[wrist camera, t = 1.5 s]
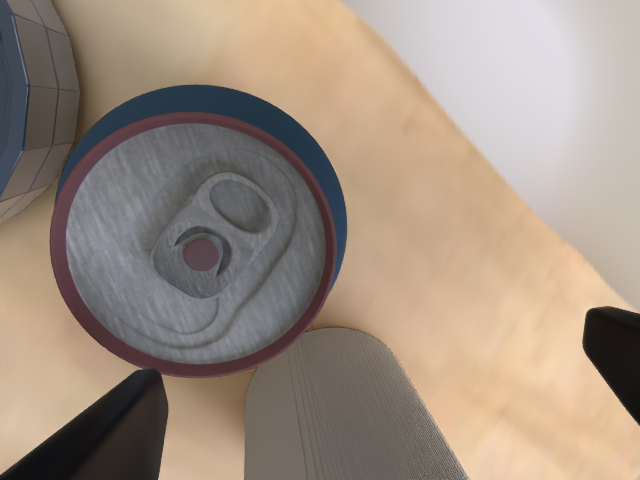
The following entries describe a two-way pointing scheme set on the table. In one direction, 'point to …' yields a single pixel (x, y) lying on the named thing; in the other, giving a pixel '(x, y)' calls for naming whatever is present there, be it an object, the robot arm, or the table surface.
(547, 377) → the table surface
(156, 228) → the soda can
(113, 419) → the robot arm
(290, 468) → the cup
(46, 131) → the bowl
